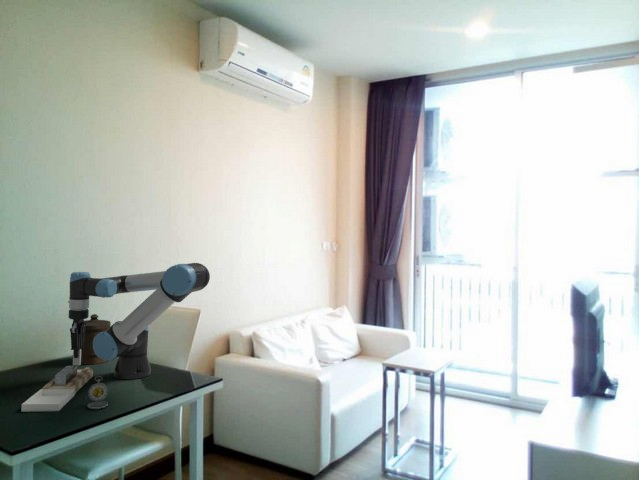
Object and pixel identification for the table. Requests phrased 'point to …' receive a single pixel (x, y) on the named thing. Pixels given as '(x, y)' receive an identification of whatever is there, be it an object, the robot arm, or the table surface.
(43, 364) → the table surface
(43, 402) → the tray
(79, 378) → the slot board
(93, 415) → the table surface
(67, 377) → the grey cubic block
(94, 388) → the pocket watch
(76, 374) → the gray cube
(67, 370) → the grey square block
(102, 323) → the wooden container
